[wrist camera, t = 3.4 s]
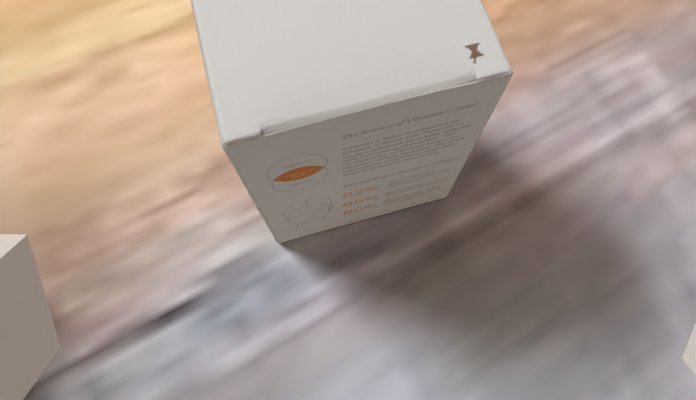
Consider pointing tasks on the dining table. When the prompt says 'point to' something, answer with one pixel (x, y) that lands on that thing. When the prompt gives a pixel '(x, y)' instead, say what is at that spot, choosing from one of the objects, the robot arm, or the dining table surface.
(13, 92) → the dining table surface
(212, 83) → the small box
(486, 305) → the dining table surface
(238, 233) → the dining table surface
